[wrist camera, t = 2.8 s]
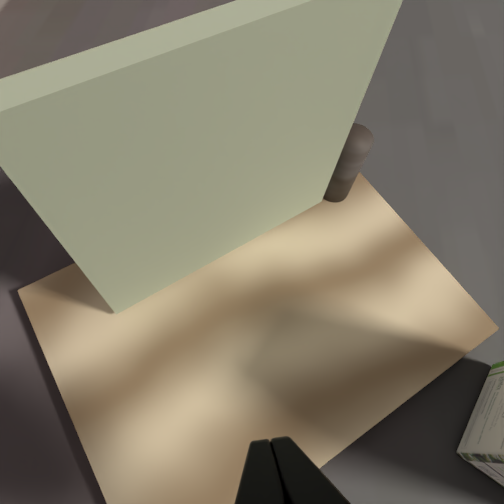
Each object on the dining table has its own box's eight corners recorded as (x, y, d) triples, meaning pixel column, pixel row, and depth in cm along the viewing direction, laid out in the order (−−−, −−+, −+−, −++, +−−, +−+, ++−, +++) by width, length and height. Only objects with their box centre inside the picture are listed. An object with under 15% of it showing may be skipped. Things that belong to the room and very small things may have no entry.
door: (321, 201, 25) (418, -38, 13) (116, 314, 21) (-34, 123, 9) (297, 173, 26) (366, -77, 14) (95, 276, 22) (-66, 53, 10)
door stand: (488, 333, 24) (566, 299, 18) (151, 593, 17) (120, 657, 12) (327, 149, 29) (351, 81, 24) (25, 296, 23) (-35, 249, 18)
